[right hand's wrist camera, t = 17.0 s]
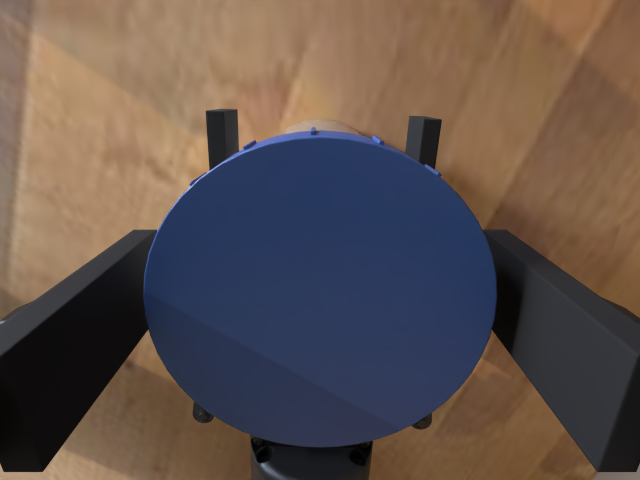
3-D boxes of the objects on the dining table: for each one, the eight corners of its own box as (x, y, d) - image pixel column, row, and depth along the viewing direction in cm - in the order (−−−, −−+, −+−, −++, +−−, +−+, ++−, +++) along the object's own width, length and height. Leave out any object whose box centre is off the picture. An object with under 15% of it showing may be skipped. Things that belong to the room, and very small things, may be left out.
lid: (433, 417, 14) (449, 462, 12) (166, 388, 13) (143, 431, 11) (515, 155, 10) (553, 167, 9) (165, 105, 10) (133, 106, 8)
